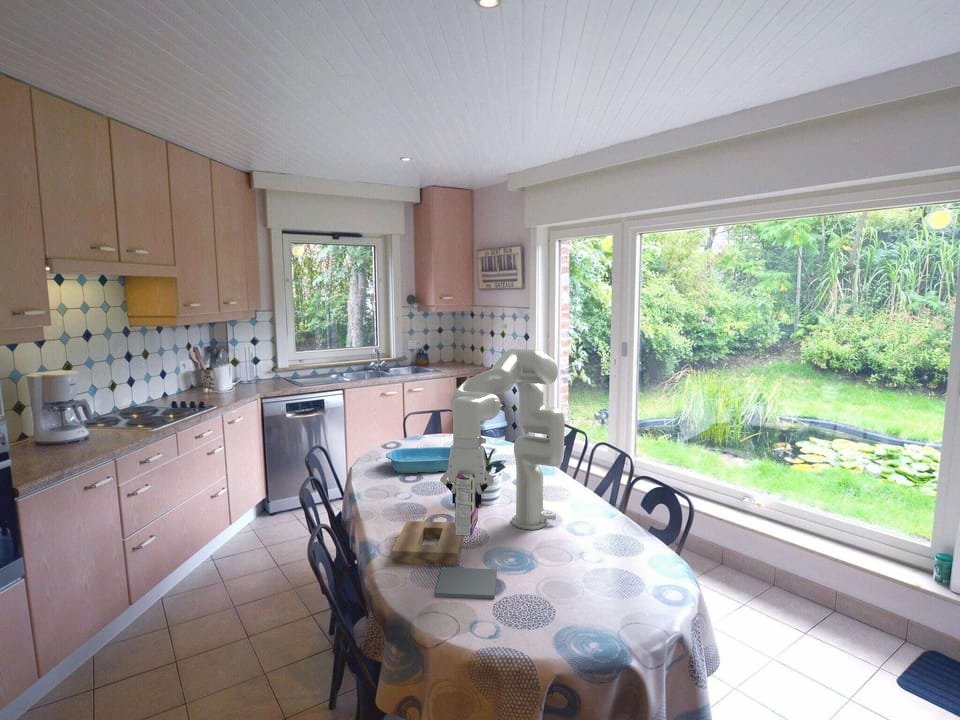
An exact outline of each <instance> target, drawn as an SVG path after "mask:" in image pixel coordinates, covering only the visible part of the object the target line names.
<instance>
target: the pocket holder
mask: <svg viewBox="0 0 960 720" xmlns="http://www.w3.org/2000/svg"><path fill="white" fill-rule="evenodd" d="M424 540H438V542H437V545H436V544H423V543H424ZM464 541H465V536H457V535H455V521H454V522H453V521H451V522H450V521H449V522H447V521H446V522H445V521H419V520H418V521H417V520H406V522H405V523H404V526H403V527H402V530H401V532H400V534H399V535H398V536H397V539H396V541H395V543H394V545H393V548H392V549H391V564H394V563H398V565H403V564H404V565H421V564H429V566H447V565H453V567H455V566H456V567H458V565H459V561H460V556H461V552H462V547H463V544H464ZM422 542H423V543H422ZM399 563H400V564H399Z"/></svg>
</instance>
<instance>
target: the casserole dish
mask: <svg viewBox="0 0 960 720" xmlns="http://www.w3.org/2000/svg"><path fill="white" fill-rule="evenodd" d="M450 449H451V446H435V447H434V446H431V447H430V446H429V447H406V448H396V449H392V450H391V451H389V452H387V453H386V454H385V458H386V459H387V460H390V462H391V464H392V468H393V470H394V471H396V472H397V473H398V474H419V473H418V472H426V473H427V472H428V473H439V472H438V471H447V470H448V467H449V455H450Z"/></svg>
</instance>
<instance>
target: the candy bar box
mask: <svg viewBox="0 0 960 720" xmlns="http://www.w3.org/2000/svg"><path fill="white" fill-rule="evenodd" d="M476 492H477V489H476V486H475V475H471V474H458V475H457V476H456V488H455V503H454V511H455V513H454V522H455V535H457V536H464V537H469V538H470V537H472V536H473V534H474V531H475V529H476V526H477V523H478V521H479V508H476Z"/></svg>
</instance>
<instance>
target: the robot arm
mask: <svg viewBox="0 0 960 720" xmlns="http://www.w3.org/2000/svg"><path fill="white" fill-rule="evenodd" d="M558 374H559V370H558V364H557V362H556V361H555V360H554V359H553V358H552V357H550V356H549V355H548V354H546V353H545V352H543V351H541V350H537V349H529V348H525V349H524V348H510V349H508V350H506V351H505V352H503V354H502V355H501V356H500V357H499V358H498V360H497V361H496V362H495V363H494V365H493V366H491V368H490V369H487V370H486V371H483V372H481V373H478V374H476V375H473V376H471V377H469V378H467V379H466V380H465V381H463V382H462V383H461V384H460V385H459V386H458V387H457V388H456V390H455V391H454V393H453V395H452V397H451V400H450V408H451V412H452V445H451V446H450V447H451V449H450V455H449V467H448V470H447V471H446V472H444V473H443V475H441V478H440V479H439V482H440V483H442V484H443V486H445V487H446V488H447V489H448V490H449V491H450V492H451V494H452V500H451V501H452V504H455V488H456V476H457V475H458V474H471V475H475V486H476V489H477V492H476V508H478V509H479V506H480V505H482V493H483V492H484V491H485V490H487V488H488V487H490V486H491V485H492V484H494V482H495V479H494V478H493V477H492V475H491V474H490V473H489V472H488V470H487V468H486V454H485V448H484V446H483V445H482V444H487V438H485V437H482V434H481V433H482V432H481V431H482V427H481V424H482V423H481V422H482V421H489V420H490V421H491V420H494V419H495V418H496V417H497V416H498V415H499V414H500V412H501V407H502V405H501V403H502V402H501V400H500V398H499V396H498V394H503V393H504V394H505V393H507V392H508V391H510V390H511V389H512V388H513V386H514V385H516V387H517V390H518V426H519V428H520V429H521V431H524V432H526V433H532V434H541V435H547V437H542V436H536V435H528V434H527V435H521V436H518V437H517V438H516V440H515V441H514V443H513V455H514V458H515V466H516V467H515V469H516V470H515V471H516V472H515V473H516V475H515V476H516V478H515V480H516V481H515V482H516V483H515V484H516V485H515V487H516V490H515V492H516V493H515V496H516V497H515V514H514V515H513V516H512V518H511V524H512V525H513V526H514V527H516V528H519V529H522V530H528V531H529V530H531V531H532V530H539V529H542V528H545V527H546V526H547V524H548V520H551V521H556V520H557V515H556V514H554V513H553V512H552V511H548V512H547V511H544V474H543V471H542V469H541V467H540V466H544V467H545V466H546V467H559V466H560V465H561V464H562V463H563V461H564V457H565V456H564V455H565V427H566V426H565V423H566V421H565V416H564V413H563V411H562V410H561V409H560V408H557V407H552V406H551V407H550V406H545V404H544V401H545V400H544V396H545V394H544V393H545V392H544V390H543V387H542V385H545V386H546V385H552V384H554V383H555V382H556V381H557V379H558ZM485 479H486V480H485Z"/></svg>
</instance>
